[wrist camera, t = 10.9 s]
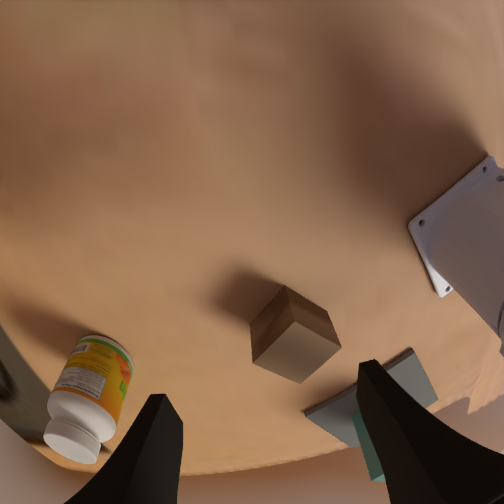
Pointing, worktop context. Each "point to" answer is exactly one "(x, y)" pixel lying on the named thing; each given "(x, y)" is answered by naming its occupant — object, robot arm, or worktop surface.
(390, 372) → the slate mat
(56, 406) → the supplement bottle
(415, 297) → the worktop surface
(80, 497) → the robot arm
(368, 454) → the teal block
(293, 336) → the walnut block
